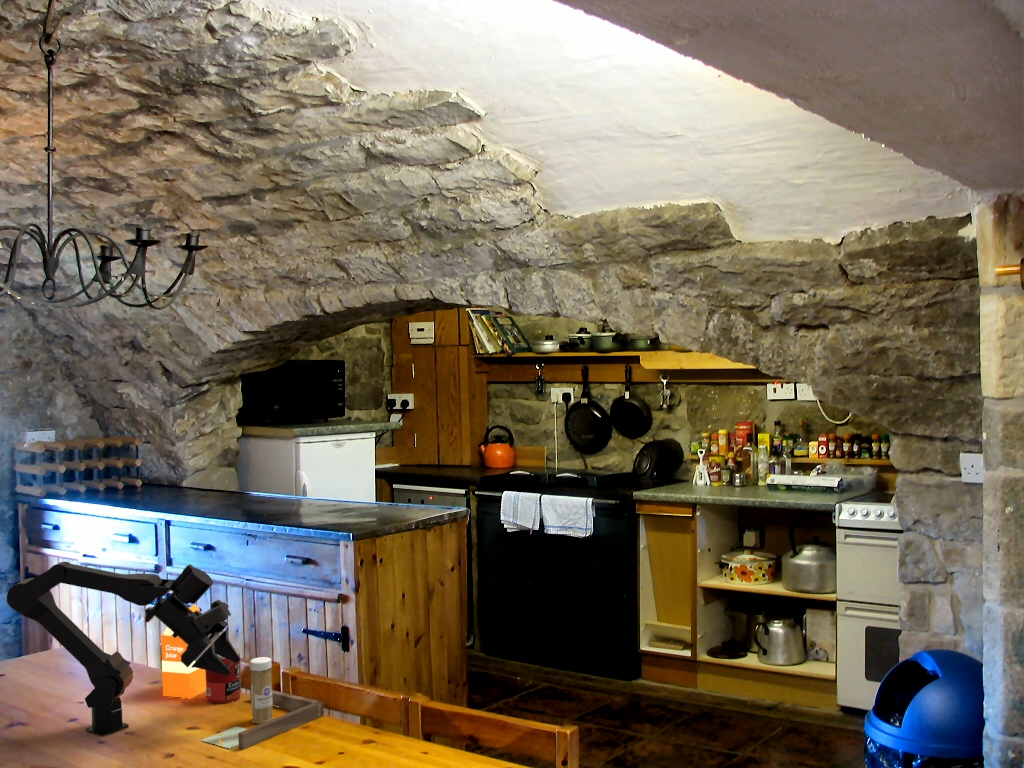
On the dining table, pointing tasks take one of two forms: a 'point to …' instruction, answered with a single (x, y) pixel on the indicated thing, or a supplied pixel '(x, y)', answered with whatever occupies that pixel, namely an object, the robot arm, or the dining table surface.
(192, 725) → the dining table surface
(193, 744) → the dining table surface
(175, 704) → the dining table surface
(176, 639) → the orange juice
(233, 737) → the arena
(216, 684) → the canned food
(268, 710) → the sprinkles bottle
